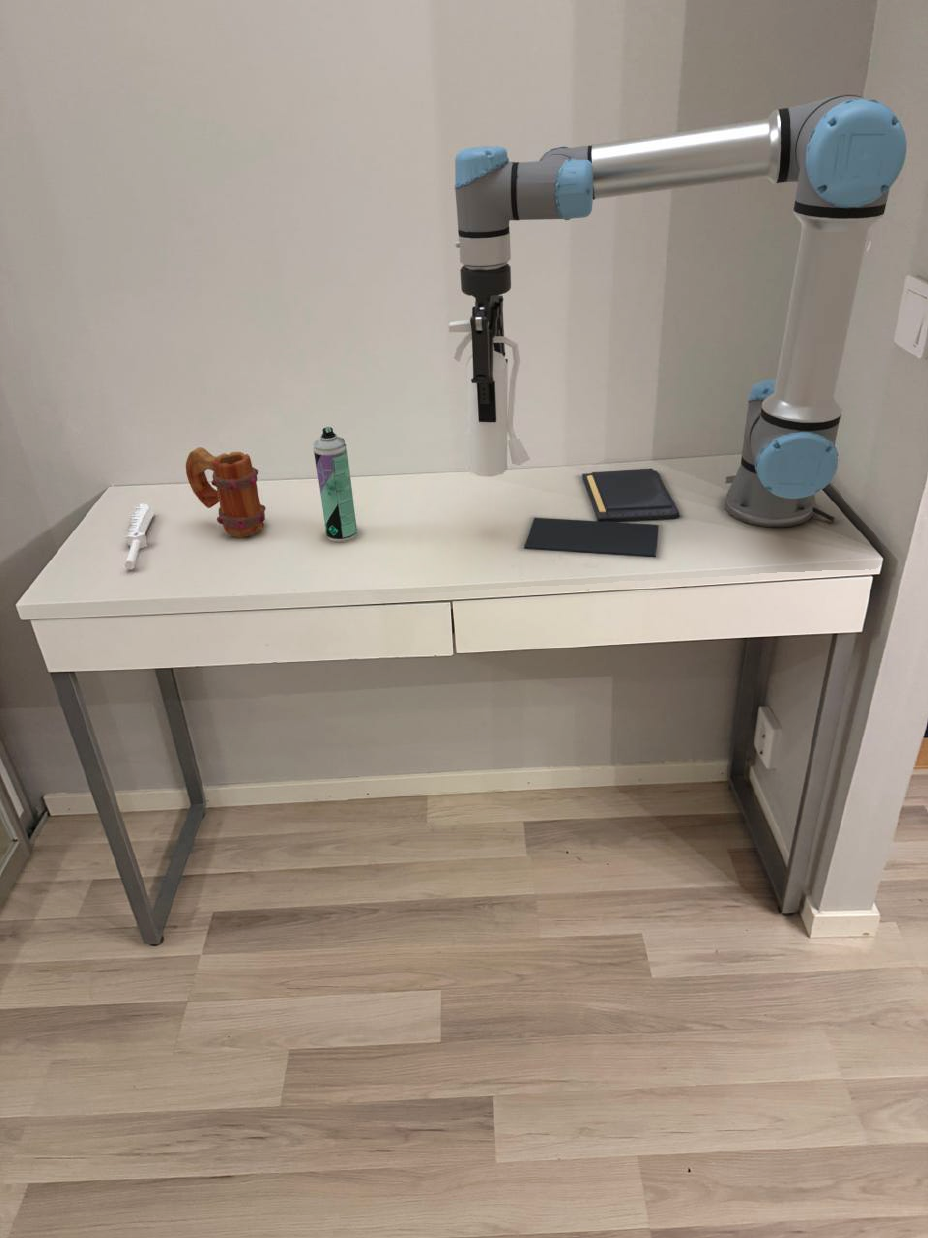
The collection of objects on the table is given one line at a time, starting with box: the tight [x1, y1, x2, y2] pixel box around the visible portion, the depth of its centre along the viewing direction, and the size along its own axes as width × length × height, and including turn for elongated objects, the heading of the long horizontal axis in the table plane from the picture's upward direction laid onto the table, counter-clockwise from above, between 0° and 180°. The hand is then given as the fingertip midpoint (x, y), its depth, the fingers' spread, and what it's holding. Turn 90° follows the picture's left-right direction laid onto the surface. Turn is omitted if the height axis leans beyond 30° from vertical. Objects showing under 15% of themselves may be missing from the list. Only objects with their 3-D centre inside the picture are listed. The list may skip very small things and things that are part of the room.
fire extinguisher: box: [448, 319, 531, 477], centre depth 145 cm, size 7×12×25 cm, turn 84°
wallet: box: [581, 468, 681, 522], centre depth 168 cm, size 20×2×15 cm
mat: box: [523, 517, 660, 558], centre depth 156 cm, size 22×11×1 cm, turn 77°
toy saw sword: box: [124, 503, 155, 570], centre depth 162 cm, size 3×4×22 cm
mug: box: [185, 446, 266, 538], centre depth 161 cm, size 15×8×15 cm, turn 65°
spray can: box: [313, 426, 358, 543], centre depth 155 cm, size 6×6×20 cm
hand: (491, 413), depth 147 cm, fingers closed on fire extinguisher, 6 cm apart
